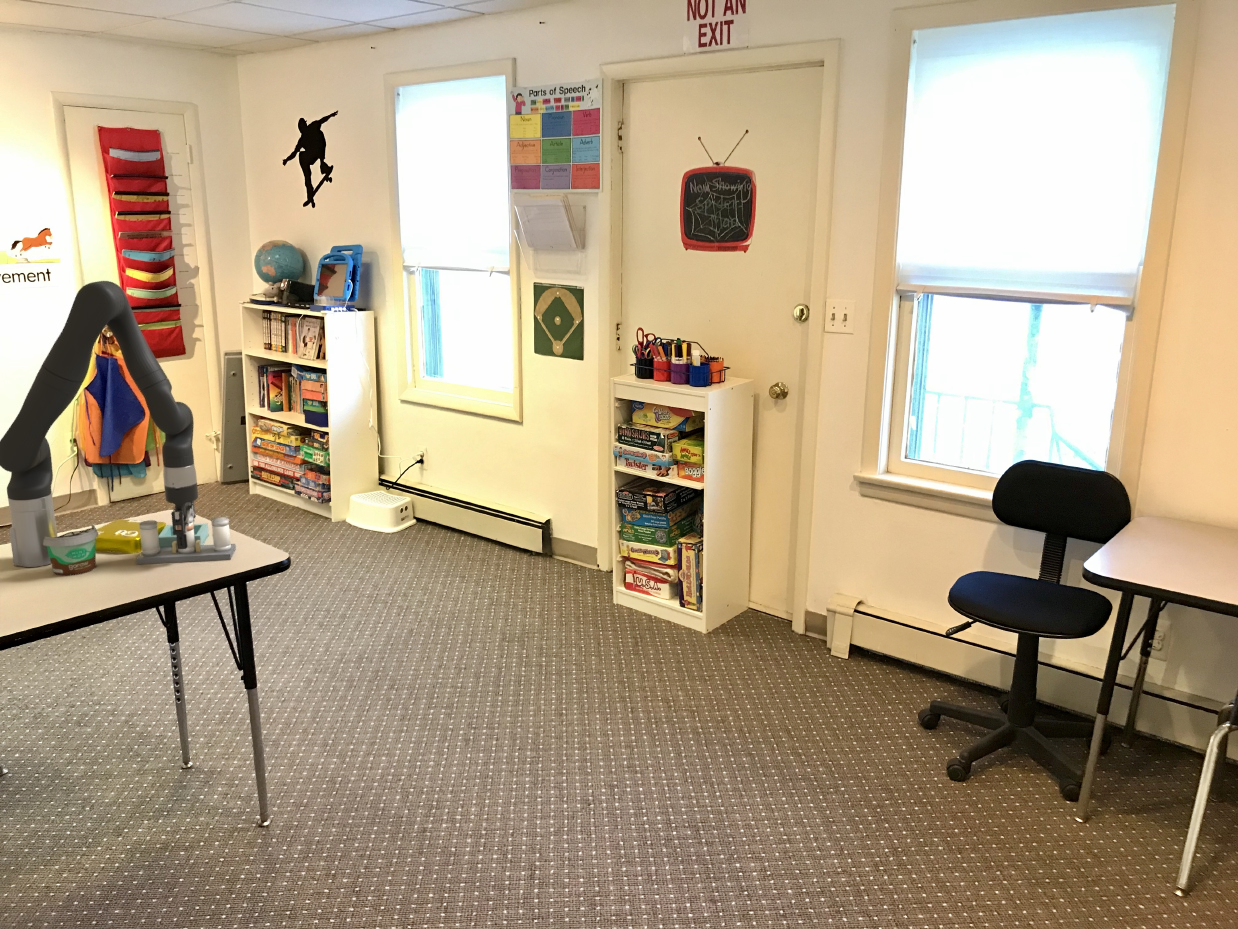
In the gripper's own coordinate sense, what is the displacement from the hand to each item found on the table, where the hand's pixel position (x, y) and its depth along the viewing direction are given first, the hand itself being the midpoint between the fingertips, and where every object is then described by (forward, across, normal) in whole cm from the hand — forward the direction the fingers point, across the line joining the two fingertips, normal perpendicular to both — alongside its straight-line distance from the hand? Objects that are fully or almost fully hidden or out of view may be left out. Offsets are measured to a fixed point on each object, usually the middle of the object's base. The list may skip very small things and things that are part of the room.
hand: (186, 542), depth 239 cm
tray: (+4, -11, -3) cm, 12 cm away
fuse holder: (+4, 0, 0) cm, 4 cm away
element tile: (+4, -14, -18) cm, 23 cm away
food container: (+4, +7, -23) cm, 24 cm away
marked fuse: (+2, 0, 0) cm, 2 cm away
